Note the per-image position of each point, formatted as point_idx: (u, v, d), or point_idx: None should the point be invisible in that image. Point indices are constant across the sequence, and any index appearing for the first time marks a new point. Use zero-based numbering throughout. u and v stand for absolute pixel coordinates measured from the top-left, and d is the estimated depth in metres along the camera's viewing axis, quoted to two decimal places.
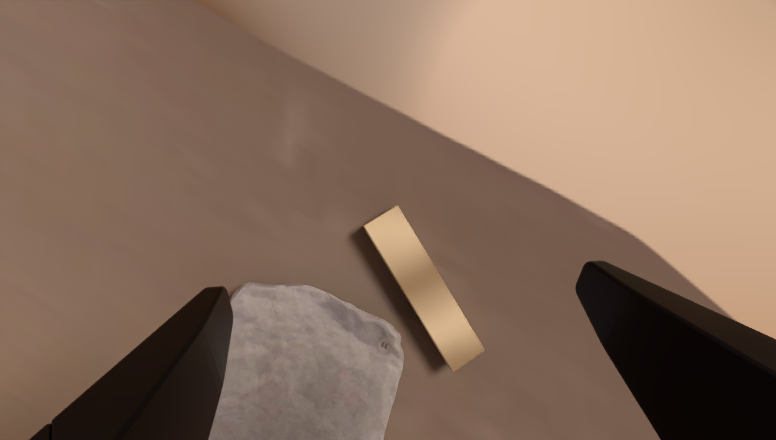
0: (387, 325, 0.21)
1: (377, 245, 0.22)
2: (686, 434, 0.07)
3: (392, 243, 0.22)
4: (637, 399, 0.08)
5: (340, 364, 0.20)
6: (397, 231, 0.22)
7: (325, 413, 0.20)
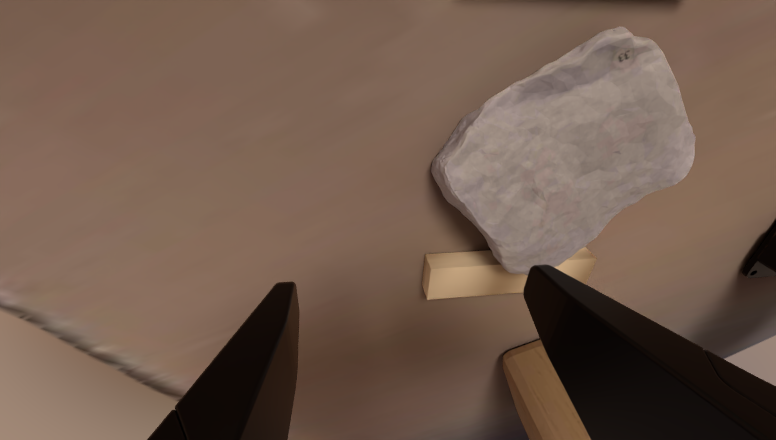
0: (609, 36, 0.15)
1: None
2: None
3: None
4: (575, 407, 0.08)
5: (596, 122, 0.16)
6: None
7: (616, 165, 0.17)
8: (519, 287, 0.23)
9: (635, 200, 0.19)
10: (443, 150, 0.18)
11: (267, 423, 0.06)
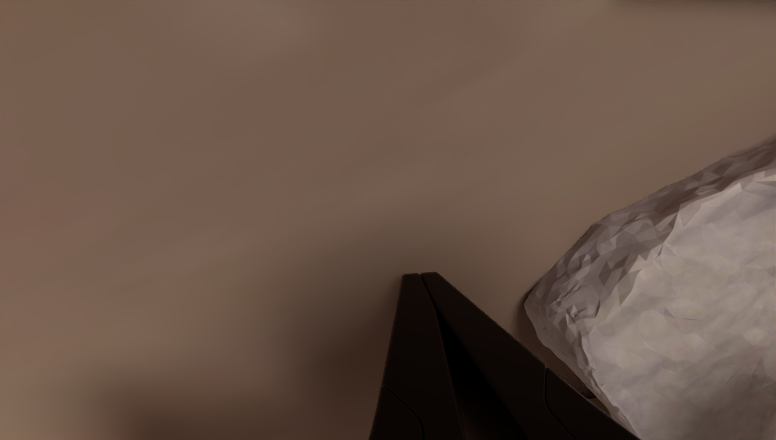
0: None
1: None
2: None
3: None
4: None
5: None
6: None
7: None
8: None
9: None
10: (565, 288, 0.09)
11: None
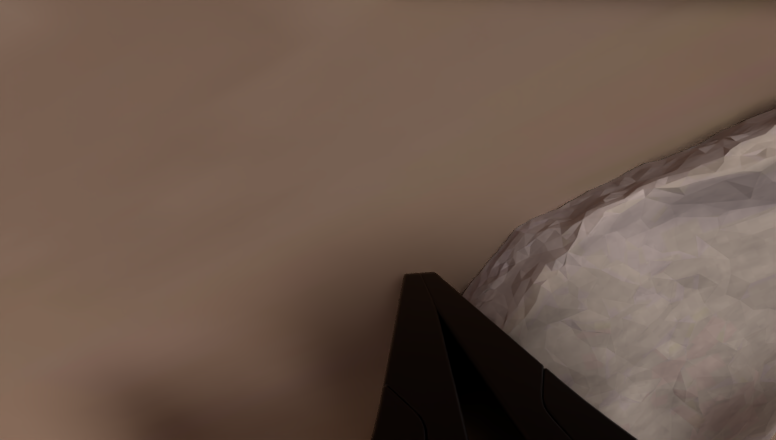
0: None
1: None
2: None
3: None
4: None
5: None
6: None
7: None
8: None
9: None
10: (482, 298, 0.09)
11: None
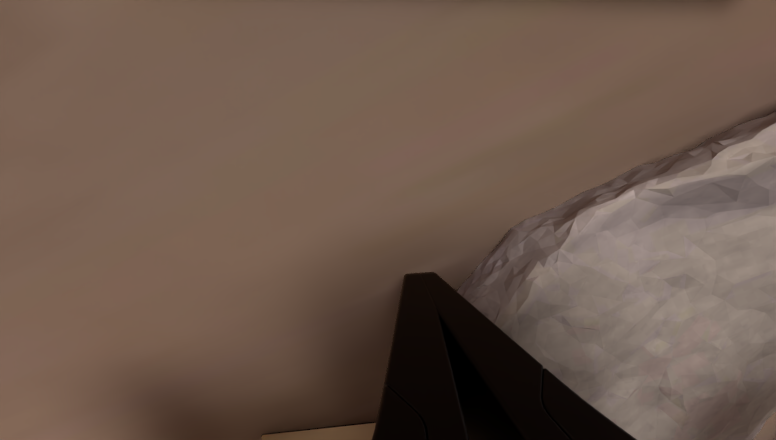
0: None
1: None
2: None
3: None
4: None
5: None
6: None
7: None
8: None
9: None
10: (475, 294, 0.09)
11: None
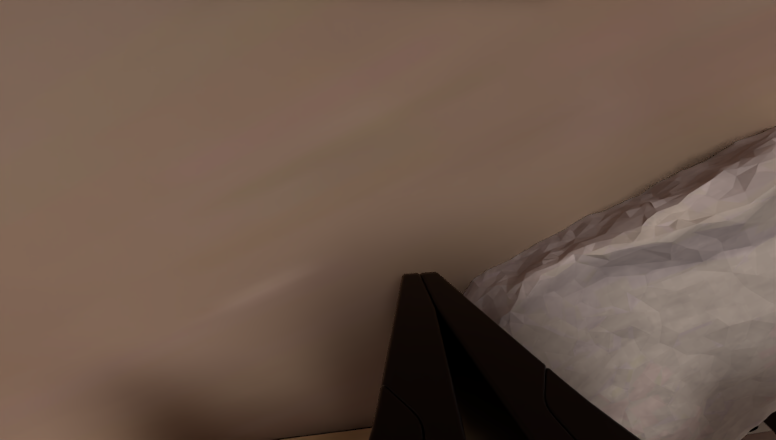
0: None
1: None
2: None
3: None
4: None
5: (764, 321, 0.07)
6: None
7: None
8: None
9: None
10: None
11: None
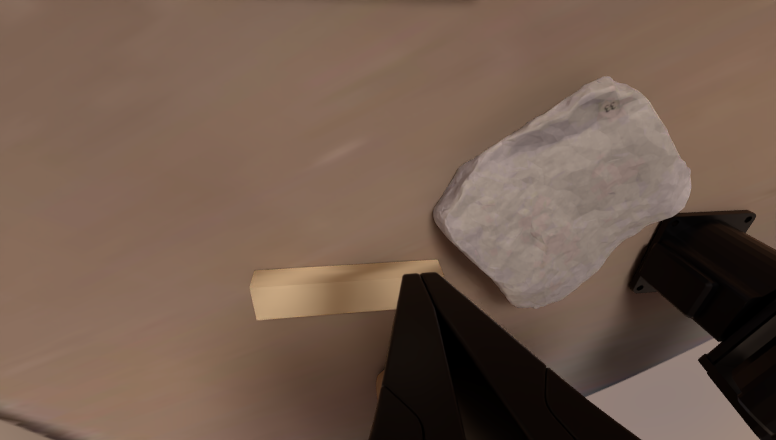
0: (594, 91, 0.15)
1: None
2: None
3: None
4: None
5: (587, 169, 0.17)
6: None
7: (612, 204, 0.18)
8: (362, 306, 0.21)
9: (635, 232, 0.19)
10: (442, 200, 0.19)
11: None
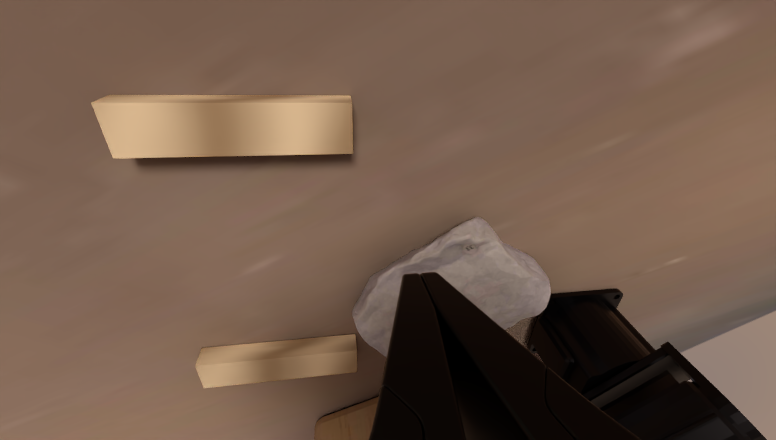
0: (454, 239, 0.20)
1: (147, 155, 0.16)
2: None
3: (150, 137, 0.16)
4: None
5: (459, 289, 0.22)
6: (134, 123, 0.16)
7: (485, 309, 0.23)
8: (291, 375, 0.26)
9: (512, 324, 0.24)
10: (357, 304, 0.24)
11: None
